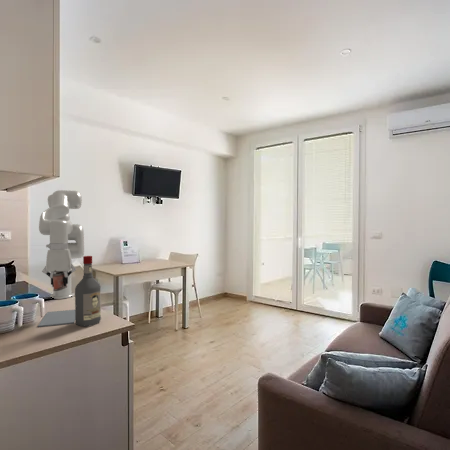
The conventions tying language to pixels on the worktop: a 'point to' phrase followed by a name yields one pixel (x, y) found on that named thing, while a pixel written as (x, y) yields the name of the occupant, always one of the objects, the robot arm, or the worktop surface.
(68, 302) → the worktop surface
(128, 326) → the worktop surface
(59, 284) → the lighter
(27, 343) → the worktop surface
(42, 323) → the mat
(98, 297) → the liquor
